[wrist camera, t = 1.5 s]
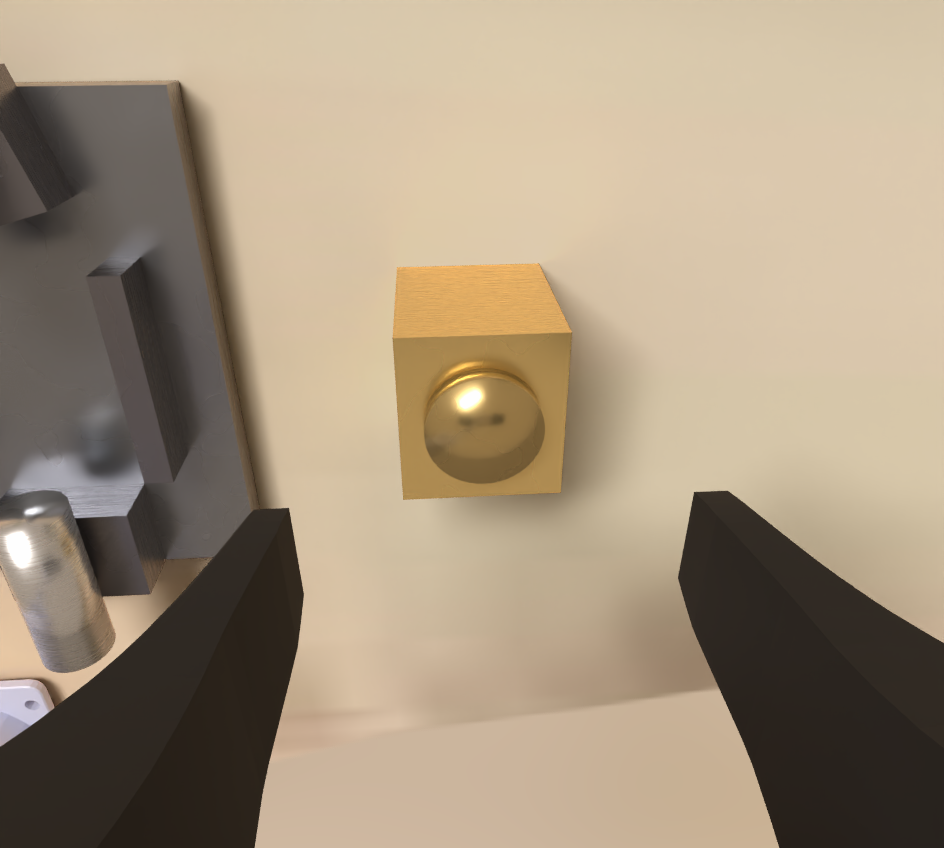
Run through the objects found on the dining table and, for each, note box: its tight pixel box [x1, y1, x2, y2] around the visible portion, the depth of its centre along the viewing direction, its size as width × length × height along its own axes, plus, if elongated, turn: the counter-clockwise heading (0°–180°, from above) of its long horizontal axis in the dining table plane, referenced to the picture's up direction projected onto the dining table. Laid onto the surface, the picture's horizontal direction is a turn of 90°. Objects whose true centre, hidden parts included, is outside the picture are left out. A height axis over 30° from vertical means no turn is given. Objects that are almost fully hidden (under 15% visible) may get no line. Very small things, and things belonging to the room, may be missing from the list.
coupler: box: [393, 264, 572, 500], centre depth 19 cm, size 4×4×6 cm
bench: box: [0, 64, 260, 673], centre depth 19 cm, size 16×10×5 cm, turn 0°
